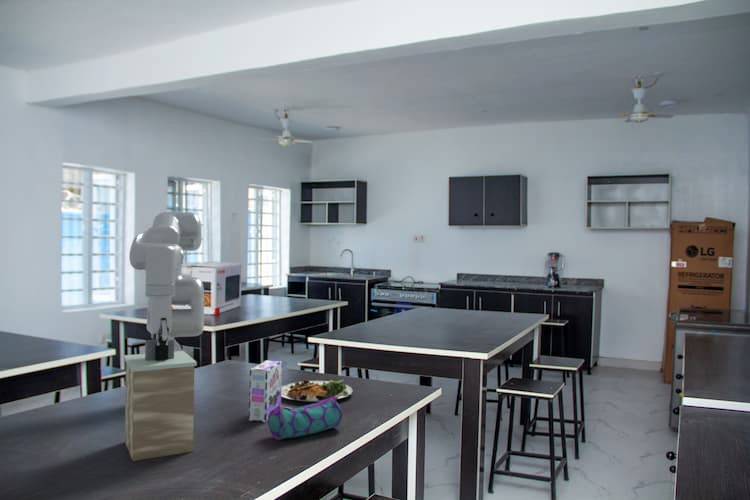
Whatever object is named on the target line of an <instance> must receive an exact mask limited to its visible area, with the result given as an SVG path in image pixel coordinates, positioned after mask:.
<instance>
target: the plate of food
mask: <svg viewBox="0 0 750 500" xmlns="http://www.w3.org/2000/svg"><path fill="white" fill-rule="evenodd" d="M343 382H344V379H341V380H337V381H335V380H332V379H331V380H329V381H328V380H308V379H304V378H302V380H301V381H296V382H291V383H290V382H289V383H286V384H284V385H282V386H281V398H283V399H284V398H285V399H288V400H293V401H300V402H301V401H302V402H312V403H313V402H314V403H317V402H320V401H323V400H326V399H328V398H333V397H334V396H336V397H338V399H337V400H339V399H343V398H346V397H349V396H350V395H352V394H353V391H354V390H353V388H352V387H351V386H350V385H348V384H345V383H343ZM288 395H290V397H291V398H290V397H289V396H288Z"/></svg>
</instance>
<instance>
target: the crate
mask: <svg viewBox="0 0 750 500" xmlns="http://www.w3.org/2000/svg"><path fill="white" fill-rule="evenodd" d="M124 397H125V403H124V404H125V406H124V407H125V413H124V416H125V418H124V444H125V445H126V447H127V450H128V452H129V454H130V457H131V460H132V462H134V461H141V460H147V459H153V458H154V459H155V458H160V457H165V456H171V455H178V454H183V453H190V452H194V421H195V419H194V417H195V415H194V413H195V366H189V367H179V368H168V369H157V370H146V371H136V372H132V371H131V369H130V368H129V366H128V365H127V363H126V362H125V396H124Z"/></svg>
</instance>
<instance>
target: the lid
mask: <svg viewBox="0 0 750 500" xmlns="http://www.w3.org/2000/svg"><path fill="white" fill-rule="evenodd" d="M144 345H145V346H144V353H137V354H125V355H123V360H124V362H125V364H126V363H127V365H128V366H129V368H130V369H131V371H132V372H136V371H146V370H157V369H168V368H179V367H189V366H194V367H197V366H198V362H197V360H195V359H194V358H193V357H191V356H190V355H189V354H188V353H187V352H186V351H184V350H182V351H174V340H173V339H168V359H167V360H159V361H156V360H155V345H157V342H156V340H152V339H148V340H145V341H144Z"/></svg>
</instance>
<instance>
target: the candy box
mask: <svg viewBox="0 0 750 500" xmlns="http://www.w3.org/2000/svg"><path fill="white" fill-rule="evenodd" d="M282 367H283V362H282V361H281V360H267V359H266V360H264V361H263V362H261V363H260V364H258V365H256V366H254V367H252V368H250V370H249V394H248V395H249V397H248V421H250V422H260V423H267V422H268V416H269V413H270V412H271V411H272V410H273V409H274V408H276V407H278V406H281V405H282V397H281V386H283V385H282V384H283V383H282V379H283V377H282V376H283V375H282V373H283V372H282V371H283V369H282Z"/></svg>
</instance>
